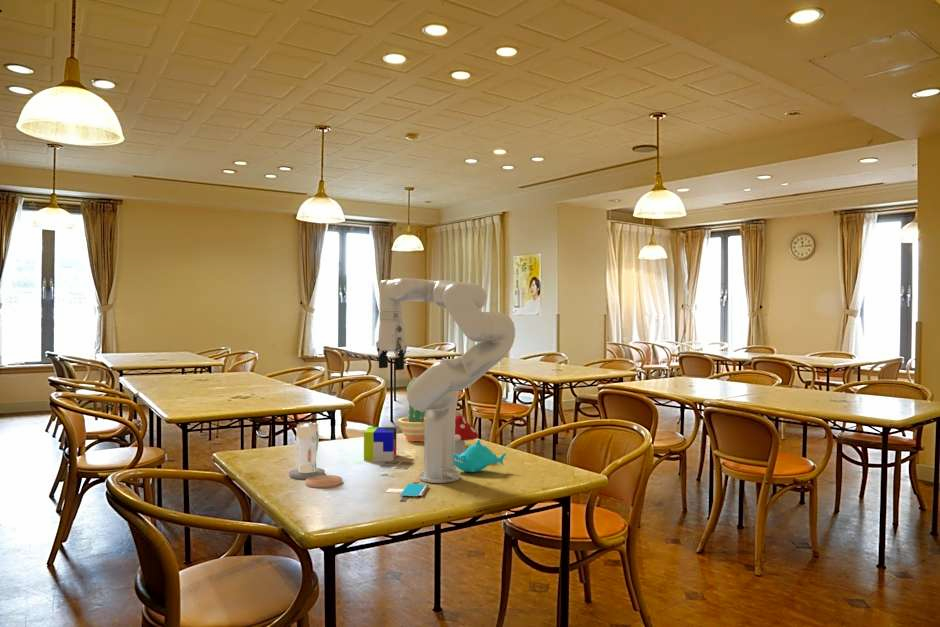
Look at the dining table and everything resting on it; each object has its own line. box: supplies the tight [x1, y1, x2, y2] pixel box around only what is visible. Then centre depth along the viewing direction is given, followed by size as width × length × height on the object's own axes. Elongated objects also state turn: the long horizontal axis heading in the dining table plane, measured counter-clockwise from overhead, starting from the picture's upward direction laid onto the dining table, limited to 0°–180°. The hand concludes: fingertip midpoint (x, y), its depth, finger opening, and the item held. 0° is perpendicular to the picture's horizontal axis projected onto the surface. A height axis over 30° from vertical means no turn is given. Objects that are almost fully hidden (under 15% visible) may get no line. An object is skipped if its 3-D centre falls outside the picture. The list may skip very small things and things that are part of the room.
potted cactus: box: [397, 377, 426, 442], centre depth 267 cm, size 15×15×25 cm
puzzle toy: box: [363, 426, 397, 462], centre depth 235 cm, size 10×10×10 cm
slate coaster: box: [288, 467, 326, 480], centre depth 210 cm, size 11×11×1 cm
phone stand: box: [385, 481, 429, 502], centre depth 192 cm, size 20×12×2 cm, turn 174°
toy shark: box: [455, 438, 507, 473], centre depth 215 cm, size 10×18×11 cm, turn 91°
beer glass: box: [295, 422, 320, 474], centre depth 210 cm, size 7×7×15 cm
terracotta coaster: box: [304, 474, 343, 489], centre depth 201 cm, size 11×11×1 cm
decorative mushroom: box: [455, 414, 480, 455], centre depth 237 cm, size 14×14×15 cm
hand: (391, 368), depth 219 cm, fingers open, 9 cm apart
